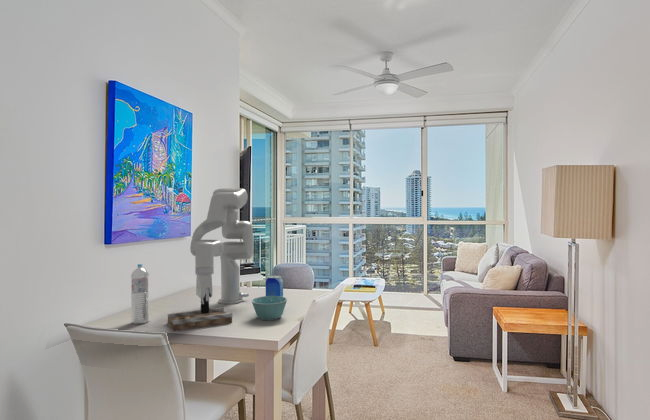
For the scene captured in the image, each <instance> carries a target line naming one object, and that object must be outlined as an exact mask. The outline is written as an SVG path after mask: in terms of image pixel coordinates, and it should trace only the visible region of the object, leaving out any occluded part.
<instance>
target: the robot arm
mask: <svg viewBox="0 0 650 420" xmlns="http://www.w3.org/2000/svg"><path fill="white" fill-rule="evenodd" d="M248 197H249V195H248V192H247V191H246V189H245V188H241V187H240V188H239V187H238V188H237V187H236V188H235V187H234V188H232V187H229V188H226V187H225V188H216V189H215V190H214V191H213V192H212V195H211V198H210V203H209V207H208V211H207V215H206V219H205V220H203V221H202V222H201V223H200V224H199V225H198V226H197V227H196V229H194V231H193V234H192V237H191V240H190V241H191V242H190V249H189V250H190V254H191V255H192V256H194V259H195V262H194V263H195V270H194V271H195V275H196V278H195V279H196V281H195V295H196V296H197V297H198V298H199V299H200V310H201V313H202V314H205V313H209V309H210V299H211V298H212V297H213V277H212V276H213V274H214V268H215V267H214V266H215V265H214V258H215V257H216V258H217V257H220V258H219V259H220V285H221V286H220V298H219V299H218V300H217V301H218V304H222V305H234V304H235V305H236V304H239V303H240V304H241V303H242V302H243V301H244V300H243V298H244V297H245V298H248V297H249V295H250V294H249V293H248V292H241V291H240V287H241V284H240V280H241V279H240V272H241V271H240V270H241V269H240V266H239V263H238V262H236V261H243V260H244V261H246V260H251V259H252V258H253V255H254V233H253V232H254V231H253V224H252V223H251V222H250V221H249V220H239V212H238V210H240V209H242V208H243V207H244V206H245V205H246V204H247V202H248ZM220 228H221V235H222V237H223V238H224V239H225V240H226V239H227V240H228V241H224V242H223V241H222V240H219V239H203V237H204V236H205V235H207V234H208V233H210V232H212V231H214V230H216V229H220ZM229 240H235V241H229ZM236 240H242V241H236Z"/></svg>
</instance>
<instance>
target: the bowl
mask: <svg viewBox="0 0 650 420" xmlns="http://www.w3.org/2000/svg"><path fill="white" fill-rule="evenodd" d="M287 300H288V298H286V297H284V296H283V297H281V296H266V295H265V296H258V297H255V298H253V299H251V303H252V306H253V309H254V311H255V315H256V316H257V318H259V319H260V320H262V321H274V320H278V319H280V318H281V317H282V315H283V314H284V312H285V311H284V310H285V307H286V304H287Z"/></svg>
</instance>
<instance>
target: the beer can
mask: <svg viewBox="0 0 650 420" xmlns="http://www.w3.org/2000/svg"><path fill="white" fill-rule="evenodd" d="M265 296H281V297H284V280H283V278H282V276H281V275H268V276H267V278H266V279H265Z"/></svg>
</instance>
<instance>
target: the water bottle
mask: <svg viewBox="0 0 650 420" xmlns="http://www.w3.org/2000/svg"><path fill="white" fill-rule="evenodd" d="M130 277H131V278H130V279H131V293H130V294H131V297H130V298H131V302H130V305H131V306H130V309H131V311H130V312H131V317H130V318H131V319H130V320H131V324H133V325H144V324H148V322H149V318H150V317H149V316H150V313H149V311H150V310H149V307H150V306H149V299H150V298H149V295H150V294H149V277H150V275H149V273H148V271H147V270H146V269H145V268H143V264H141V263H140V264H137V268H135V269H134V270H133V271H132V272H131V275H130Z"/></svg>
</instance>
